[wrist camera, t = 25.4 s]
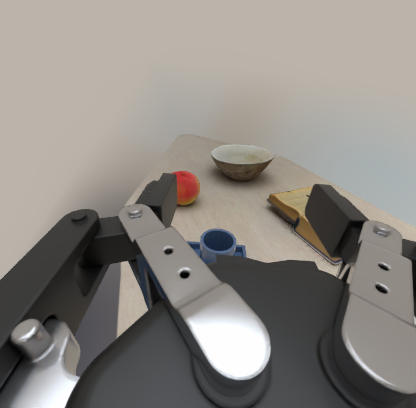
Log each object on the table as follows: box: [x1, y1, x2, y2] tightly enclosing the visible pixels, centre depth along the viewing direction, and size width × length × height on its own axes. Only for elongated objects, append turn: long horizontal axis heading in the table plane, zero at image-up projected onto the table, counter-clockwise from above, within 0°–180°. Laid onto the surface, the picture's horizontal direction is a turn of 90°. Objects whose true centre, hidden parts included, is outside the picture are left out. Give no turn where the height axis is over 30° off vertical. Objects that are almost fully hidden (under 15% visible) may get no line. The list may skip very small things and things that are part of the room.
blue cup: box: [200, 229, 236, 264], centre depth 39 cm, size 6×6×8 cm
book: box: [267, 187, 343, 264], centre depth 56 cm, size 25×17×6 cm
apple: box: [172, 171, 200, 205], centre depth 61 cm, size 10×10×10 cm
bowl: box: [211, 145, 274, 181], centre depth 81 cm, size 24×24×10 cm
